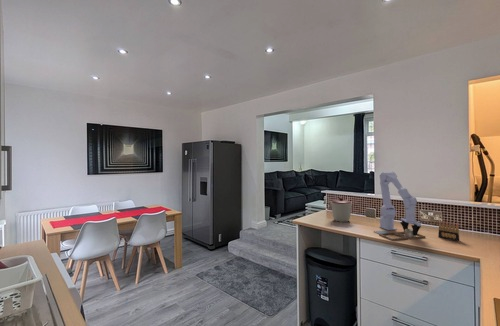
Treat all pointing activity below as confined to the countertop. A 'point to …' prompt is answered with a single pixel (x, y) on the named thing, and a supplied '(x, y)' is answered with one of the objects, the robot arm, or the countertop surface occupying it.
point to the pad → (381, 232)
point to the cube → (409, 232)
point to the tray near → (394, 234)
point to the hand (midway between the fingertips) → (410, 233)
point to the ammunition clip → (444, 231)
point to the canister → (341, 209)
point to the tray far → (410, 237)
